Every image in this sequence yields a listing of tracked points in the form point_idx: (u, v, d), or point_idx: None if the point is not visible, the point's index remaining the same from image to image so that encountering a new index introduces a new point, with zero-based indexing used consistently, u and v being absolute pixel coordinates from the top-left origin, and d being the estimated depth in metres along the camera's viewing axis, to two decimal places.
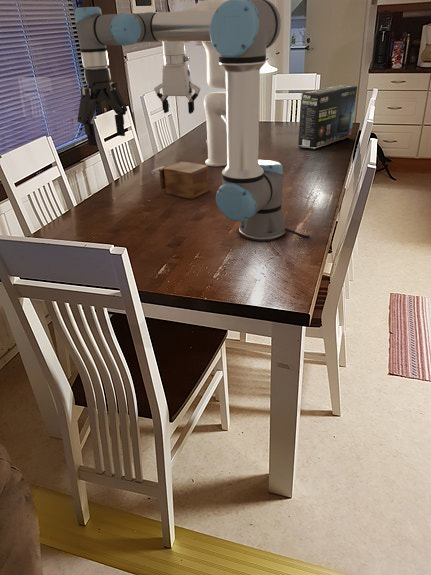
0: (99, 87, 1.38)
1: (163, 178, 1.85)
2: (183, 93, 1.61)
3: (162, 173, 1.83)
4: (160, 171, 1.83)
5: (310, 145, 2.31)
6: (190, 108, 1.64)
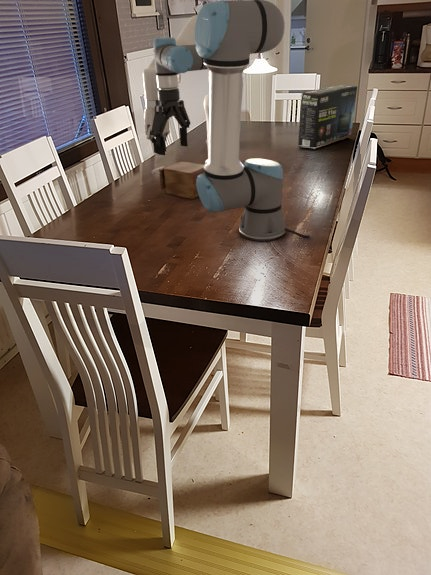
0: (169, 105, 1.60)
1: (163, 178, 1.85)
2: (167, 130, 1.82)
3: (162, 173, 1.83)
4: (160, 171, 1.83)
5: (310, 145, 2.31)
6: None
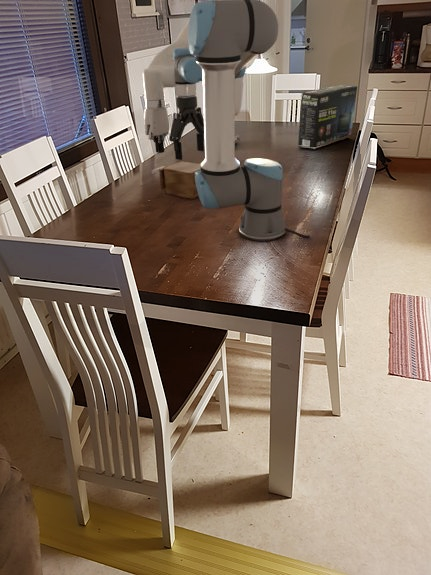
0: (187, 112, 1.67)
1: (163, 178, 1.85)
2: (167, 130, 1.82)
3: (162, 173, 1.83)
4: (160, 171, 1.83)
5: (310, 145, 2.31)
6: None
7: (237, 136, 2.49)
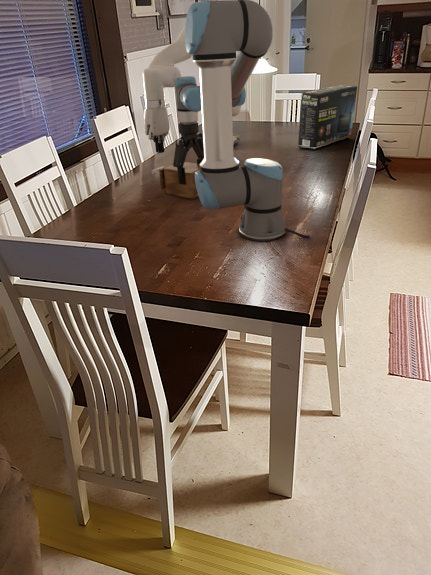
0: (189, 137, 1.72)
1: (163, 178, 1.85)
2: (167, 130, 1.82)
3: (162, 173, 1.83)
4: (160, 171, 1.83)
5: (310, 145, 2.31)
6: None
7: (237, 136, 2.49)
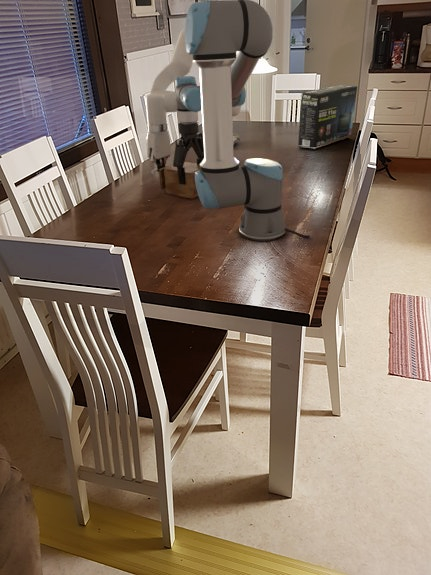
0: (189, 137, 1.72)
1: (163, 178, 1.85)
2: (169, 153, 1.86)
3: (162, 173, 1.84)
4: (160, 171, 1.83)
5: (310, 145, 2.31)
6: None
7: (237, 136, 2.49)
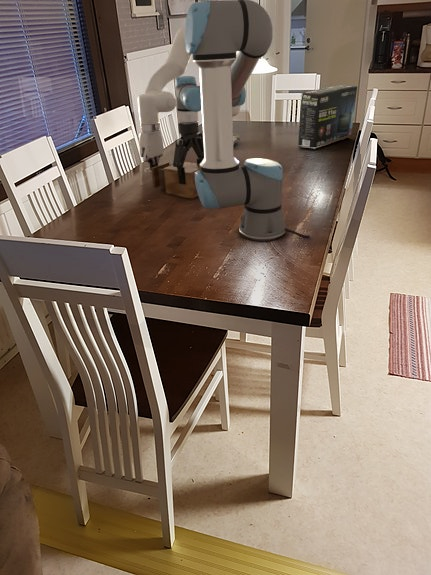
0: (189, 137, 1.72)
1: (155, 177, 1.87)
2: (161, 152, 1.89)
3: (154, 172, 1.86)
4: (152, 170, 1.85)
5: (310, 145, 2.31)
6: None
7: (237, 136, 2.49)
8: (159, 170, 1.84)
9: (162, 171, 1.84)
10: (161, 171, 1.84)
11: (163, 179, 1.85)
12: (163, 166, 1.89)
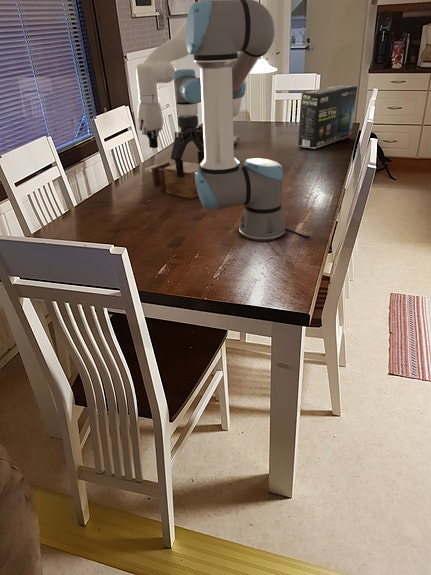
0: (188, 131, 1.70)
1: (155, 176, 1.87)
2: (160, 125, 1.83)
3: (154, 171, 1.86)
4: (152, 169, 1.85)
5: (310, 145, 2.31)
6: None
7: (237, 136, 2.49)
8: (159, 170, 1.84)
9: (162, 171, 1.84)
10: (161, 171, 1.84)
11: (163, 179, 1.85)
12: (163, 166, 1.89)
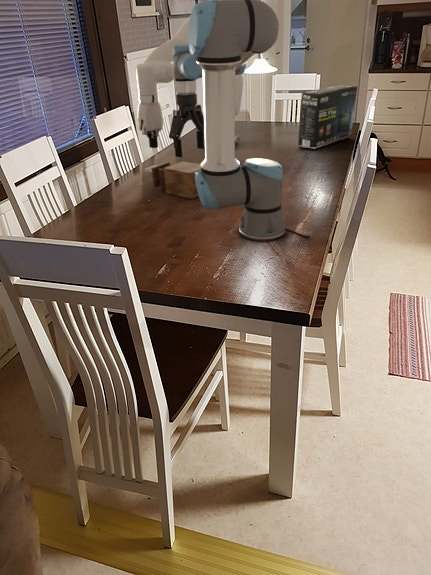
0: (187, 109, 1.67)
1: (155, 176, 1.87)
2: (160, 125, 1.83)
3: (154, 171, 1.86)
4: (152, 169, 1.85)
5: (310, 145, 2.31)
6: None
7: (237, 136, 2.49)
8: (159, 170, 1.84)
9: (162, 171, 1.84)
10: (161, 171, 1.84)
11: (163, 179, 1.85)
12: (163, 166, 1.89)
